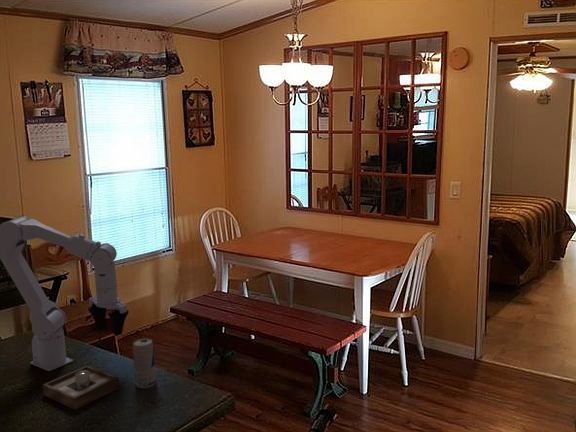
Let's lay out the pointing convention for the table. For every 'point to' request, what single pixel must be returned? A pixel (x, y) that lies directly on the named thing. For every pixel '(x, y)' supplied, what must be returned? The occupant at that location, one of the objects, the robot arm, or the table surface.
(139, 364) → the energy drink
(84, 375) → the peg
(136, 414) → the table surface
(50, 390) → the bore box
